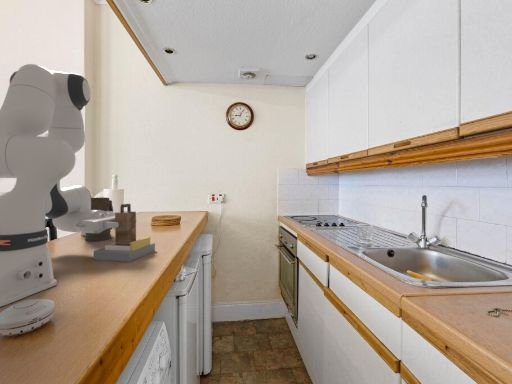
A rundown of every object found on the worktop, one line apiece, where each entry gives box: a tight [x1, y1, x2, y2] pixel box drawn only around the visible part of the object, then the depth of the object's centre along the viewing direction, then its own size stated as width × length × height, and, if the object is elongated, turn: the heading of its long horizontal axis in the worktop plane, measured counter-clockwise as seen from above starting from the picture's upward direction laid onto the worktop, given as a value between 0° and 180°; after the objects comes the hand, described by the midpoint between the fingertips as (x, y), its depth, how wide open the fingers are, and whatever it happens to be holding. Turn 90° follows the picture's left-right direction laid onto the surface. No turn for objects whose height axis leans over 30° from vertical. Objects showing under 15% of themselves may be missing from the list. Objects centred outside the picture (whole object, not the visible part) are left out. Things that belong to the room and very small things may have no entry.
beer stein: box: [84, 197, 114, 242], centre depth 136 cm, size 15×11×20 cm
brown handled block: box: [114, 203, 137, 246], centre depth 105 cm, size 5×5×16 cm
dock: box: [93, 236, 156, 263], centre depth 106 cm, size 14×16×6 cm
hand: (127, 222), depth 105 cm, fingers open, 8 cm apart
